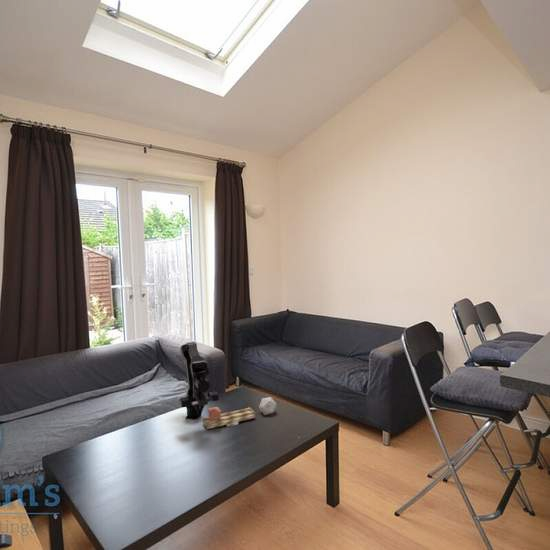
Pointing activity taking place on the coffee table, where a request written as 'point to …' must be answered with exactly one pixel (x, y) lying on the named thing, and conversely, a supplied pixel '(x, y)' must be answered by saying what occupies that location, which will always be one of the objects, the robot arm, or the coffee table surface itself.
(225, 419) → the beam
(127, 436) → the coffee table surface
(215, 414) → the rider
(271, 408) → the die
